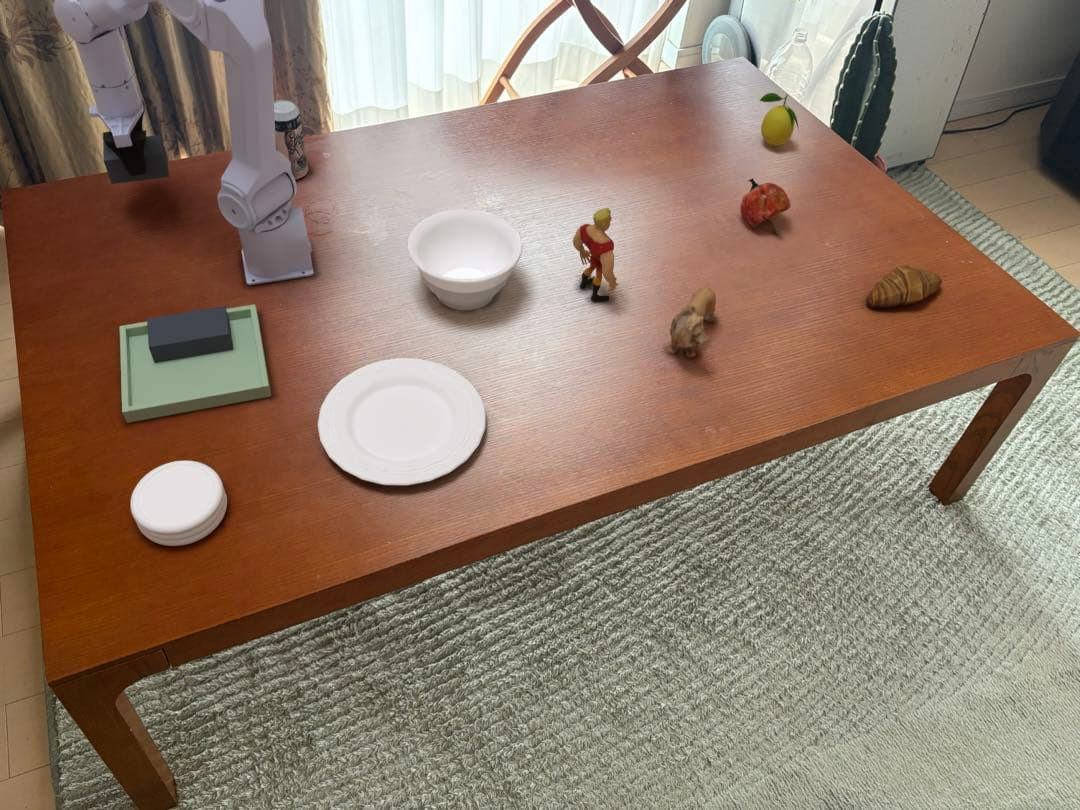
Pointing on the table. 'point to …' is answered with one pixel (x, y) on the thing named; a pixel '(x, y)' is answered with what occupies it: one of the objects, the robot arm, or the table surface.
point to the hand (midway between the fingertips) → (137, 162)
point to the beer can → (290, 136)
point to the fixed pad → (189, 334)
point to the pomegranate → (763, 203)
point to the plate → (401, 422)
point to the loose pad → (153, 162)
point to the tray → (193, 372)
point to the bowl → (464, 255)
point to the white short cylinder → (178, 503)
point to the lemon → (777, 121)
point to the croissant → (903, 287)
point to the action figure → (597, 253)
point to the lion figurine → (692, 322)
